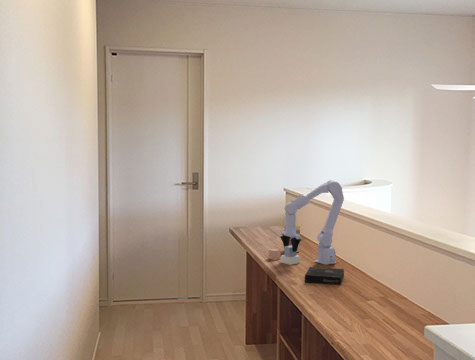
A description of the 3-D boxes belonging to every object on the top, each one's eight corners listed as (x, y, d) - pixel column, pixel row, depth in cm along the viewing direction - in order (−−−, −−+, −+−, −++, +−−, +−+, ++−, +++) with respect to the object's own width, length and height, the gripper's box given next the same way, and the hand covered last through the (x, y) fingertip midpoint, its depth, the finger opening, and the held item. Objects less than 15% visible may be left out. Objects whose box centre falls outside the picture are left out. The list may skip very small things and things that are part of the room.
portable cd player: (343, 276, 274) (343, 268, 273) (340, 286, 257) (340, 277, 257) (310, 274, 278) (310, 266, 278) (304, 283, 262) (304, 275, 261)
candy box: (300, 251, 328) (300, 225, 327) (295, 252, 326) (295, 226, 324) (289, 249, 335) (289, 224, 334) (284, 250, 333) (284, 224, 331)
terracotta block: (280, 258, 311) (280, 249, 311) (275, 260, 308) (275, 251, 307) (274, 257, 314) (274, 248, 314) (268, 258, 311) (268, 249, 311)
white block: (299, 263, 301) (299, 255, 301) (290, 265, 297) (290, 257, 296) (290, 261, 307) (290, 253, 306) (281, 262, 302) (281, 255, 302)
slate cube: (296, 256, 301) (296, 246, 300) (289, 257, 298) (289, 247, 298) (291, 254, 304) (291, 245, 304) (284, 255, 302) (284, 246, 302)
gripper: (276, 223, 304) (276, 248, 305) (292, 227, 292) (292, 253, 293) (287, 222, 308) (287, 247, 309) (303, 226, 295) (303, 252, 296)
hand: (290, 250), depth 301 cm, fingers open, 7 cm apart
